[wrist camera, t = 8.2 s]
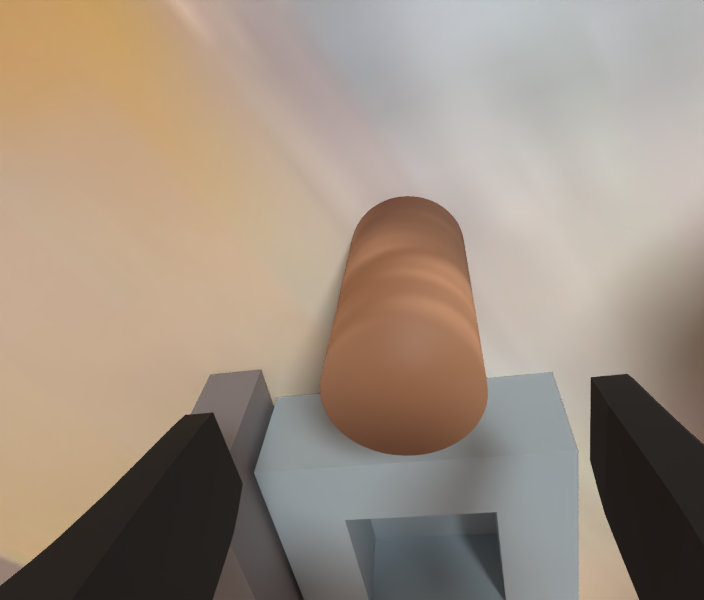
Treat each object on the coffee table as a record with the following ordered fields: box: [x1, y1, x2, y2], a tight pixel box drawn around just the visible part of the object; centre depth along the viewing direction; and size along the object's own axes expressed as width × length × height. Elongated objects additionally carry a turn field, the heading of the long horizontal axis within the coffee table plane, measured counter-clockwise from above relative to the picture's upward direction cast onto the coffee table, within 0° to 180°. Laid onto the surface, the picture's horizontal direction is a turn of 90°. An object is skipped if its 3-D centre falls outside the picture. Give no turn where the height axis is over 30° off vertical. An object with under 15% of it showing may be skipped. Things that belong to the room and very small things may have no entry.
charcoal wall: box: [191, 370, 304, 600], centre depth 22 cm, size 2×12×6 cm, turn 12°
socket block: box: [254, 372, 579, 600], centre depth 22 cm, size 10×10×4 cm
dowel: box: [320, 196, 488, 456], centre depth 15 cm, size 4×4×7 cm
